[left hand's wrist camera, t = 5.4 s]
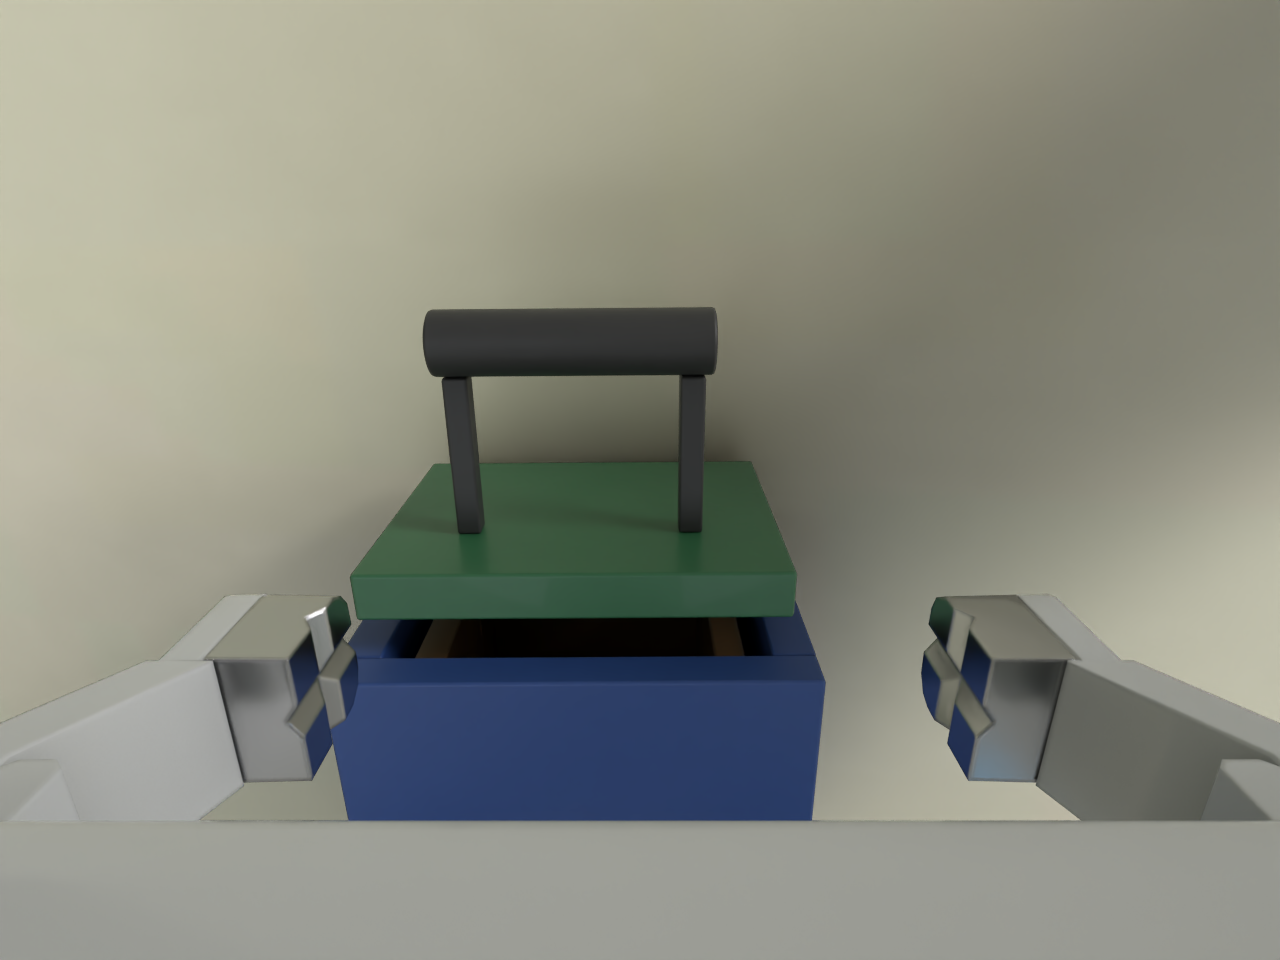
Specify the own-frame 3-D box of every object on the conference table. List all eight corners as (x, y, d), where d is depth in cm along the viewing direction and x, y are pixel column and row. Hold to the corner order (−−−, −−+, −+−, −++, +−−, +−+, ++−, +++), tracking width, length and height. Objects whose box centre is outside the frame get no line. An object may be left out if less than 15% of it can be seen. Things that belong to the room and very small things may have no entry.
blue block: (430, 512, 25) (319, 684, 17) (762, 510, 25) (827, 680, 17) (469, 829, 31) (400, 1087, 22) (743, 828, 31) (786, 1086, 22)
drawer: (412, 284, 22) (305, 328, 15) (760, 281, 22) (818, 324, 15) (471, 781, 28) (416, 971, 22) (735, 779, 28) (766, 969, 22)
